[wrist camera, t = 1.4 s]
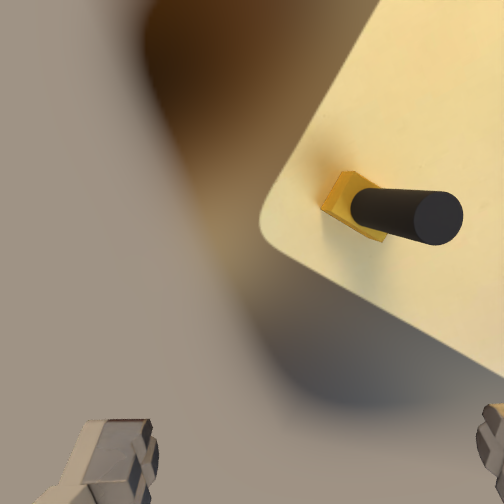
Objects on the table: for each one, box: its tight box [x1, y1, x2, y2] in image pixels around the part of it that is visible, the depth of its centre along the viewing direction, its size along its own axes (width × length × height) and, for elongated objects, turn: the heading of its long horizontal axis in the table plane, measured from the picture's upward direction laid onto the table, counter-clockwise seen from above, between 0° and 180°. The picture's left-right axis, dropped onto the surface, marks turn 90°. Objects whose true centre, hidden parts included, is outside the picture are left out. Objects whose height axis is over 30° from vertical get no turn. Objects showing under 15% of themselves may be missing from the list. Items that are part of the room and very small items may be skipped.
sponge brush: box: [321, 171, 463, 245], centre depth 28 cm, size 5×4×12 cm
